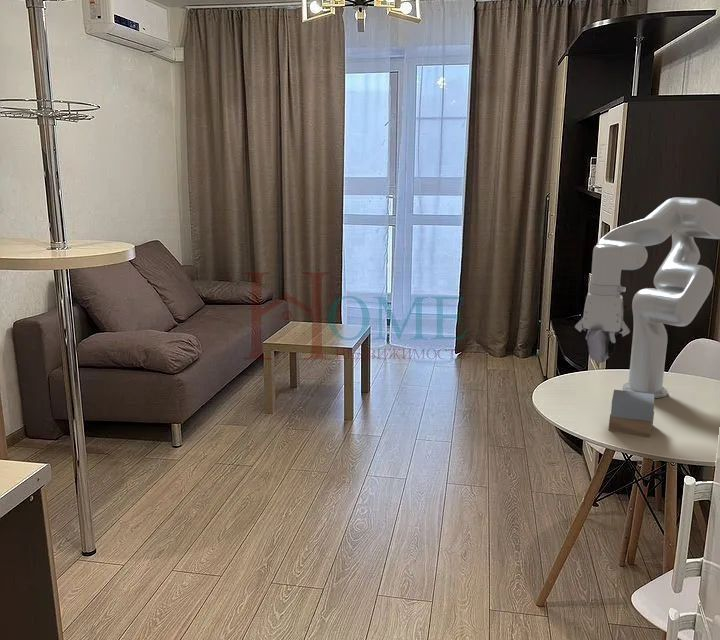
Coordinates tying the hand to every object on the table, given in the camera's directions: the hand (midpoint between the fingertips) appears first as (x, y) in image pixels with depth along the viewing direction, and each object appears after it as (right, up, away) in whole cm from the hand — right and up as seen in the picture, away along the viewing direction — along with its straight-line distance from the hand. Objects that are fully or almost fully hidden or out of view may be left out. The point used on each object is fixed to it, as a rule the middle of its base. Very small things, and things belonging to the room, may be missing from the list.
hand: (600, 353), depth 194 cm
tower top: (+5, -15, -11) cm, 19 cm away
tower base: (+5, -19, -10) cm, 22 cm away
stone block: (0, -2, +1) cm, 3 cm away
